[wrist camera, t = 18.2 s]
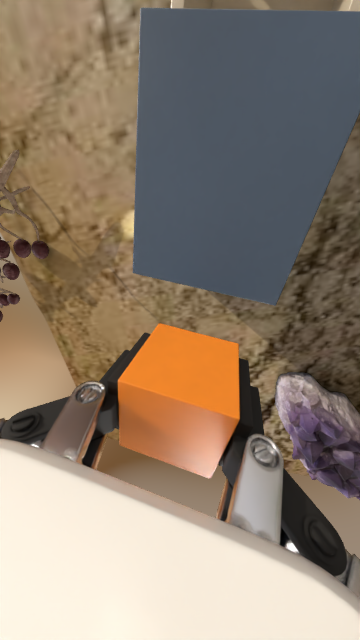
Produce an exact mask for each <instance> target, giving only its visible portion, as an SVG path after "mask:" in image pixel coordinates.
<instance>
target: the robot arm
mask: <svg viewBox="0 0 360 640" xmlns="http://www.w3.org/2000/svg"><path fill="white" fill-rule="evenodd" d="M150 335H151V334H148V333H144V334H143V335H142V336H141V338H140V339H139V340H138V342H137V343H136V344H135V345H134V347H133V348H132V349H131V350H130V351H129V350H125V351H124V352H123V353H122V354H121V356H120V357H119V358H118V359H117V360H116V362H115V363H114V364H113V365H112V367H111V368H110V369H109V370H108V371H107V373H106V374H105V375H104V376H103V377H102V379H101V380H100V381H99V382H98V381H88V382H84V383H82V384H80V385H79V386H78V387H76V388H75V390H74V391H73V393H72V394H71V396H69V397H66V398H63V399H60V400H56V401H53V402H50V403H46V404H43V405H40V406H37V407H33V408H30V409H27V410H24V411H22V412H19V413H17V414H16V415H14V416H12V417H11V418H10V419H9V420H5V419H4V418H2V419H0V640H360V559H359V558H358V557H357V556H356V555H355V554H353V555H351V554H350V553H349V552H348V551H347V550H346V549H345V547H344V544H343V542H342V540H341V538H340V536H339V535H338V533H337V531H336V530H335V528H334V527H333V526H332V524H331V523H330V522H329V521H328V520H327V519H326V517H325V516H324V515H323V514H322V513H321V511H320V510H319V509H318V508H317V507H316V506H315V504H314V503H313V502H312V501H311V500H310V498H309V497H308V496H307V495H306V494H305V493H304V491H303V490H302V489H301V488H300V487H299V485H298V484H297V483H296V482H295V481H294V480H293V478H292V477H291V476H290V475H289V474H288V472H287V471H286V470H285V469H284V468H283V456H282V453H281V451H280V449H279V448H278V446H277V445H276V444H275V443H274V442H273V441H272V440H271V439H270V438H268V437H267V436H264V429H263V421H262V413H261V405H260V397H259V390H258V388H256V387H253V386H250V376H249V363H248V360H244V359H240V358H239V397H240V420H239V422H238V424H237V426H236V428H235V430H234V432H233V434H232V436H231V438H230V440H229V442H228V444H227V446H226V448H225V451H224V453H223V455H222V457H221V459H220V461H219V465H220V466H222V471H223V473H224V474H225V476H226V481H225V485H224V488H223V492H222V496H221V500H220V503H219V507H218V510H217V515H216V518H214V517H211V516H209V515H206V514H204V513H202V512H199V511H197V510H194V509H192V508H189V507H187V506H184V505H182V504H179V503H177V502H174V501H172V500H170V499H167V498H164V497H162V496H160V495H157V494H155V493H152V492H150V491H147V490H144V489H142V488H139V487H137V486H135V485H132V484H130V483H127V482H124V481H122V480H120V479H117V478H114V477H112V476H110V475H107V474H104V473H102V472H99V471H97V470H96V469H97V466H98V463H99V460H100V456H101V454H102V451H103V448H104V445H105V441H106V439H107V436H108V433H109V432H112V431H113V430H114V428H117V429H119V404H118V379H119V378H120V377H121V375H122V374H123V373H124V371H125V370H126V368H127V367H128V366H129V364H130V363H131V361H132V360H133V359H134V357H135V356H136V355H137V353H138V352H139V350H140V349H141V348H142V346H143V345H144V343H145V342H146V341H147V339H148V338H149V337H150Z"/></svg>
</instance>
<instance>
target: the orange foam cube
mask: <svg viewBox="0 0 360 640" xmlns="http://www.w3.org/2000/svg"><path fill="white" fill-rule="evenodd" d="M118 404H119V437H120V445H121V446H124V447H126V448H129V449H131V450H134V451H137V452H139V453H142V454H145V455H147V456H150V457H153V458H156V459H158V460H161V461H164V462H166V463H169V464H172V465H174V466H177V467H180V468H183V469H185V470H188V471H191V472H193V473H196V474H199V475H202V476H204V477H207V478H209V479H211V477H212V475H213V473H214V470H215V469H216V467H217V465H218V463H219V461H220V459H221V457H222V455H223V453H224V451H225V448H226V446H227V444H228V442H229V440H230V438H231V436H232V434H233V432H234V430H235V428H236V426H237V424H238V422H239V420H240V397H239V344H237V343H233V342H229V341H226V340H222V339H218V338H214V337H210V336H206V335H202V334H199V333H195V332H191V331H187V330H183V329H179V328H176V327H172V326H168V325H164V324H160V323H159V324H158V326H157V327H156V328H155V330H154V331H153V332H152V334H151V335H150V337H149V338H148V339H147V341H146V342H145V343H144V345H143V346H142V348H141V349H140V350H139V352H138V353H137V355H136V356H135V357H134V359H133V360H132V361H131V363H130V364H129V366H128V367H127V368H126V370H125V371H124V373H123V374H122V375H121V377H120V378H119V379H118Z"/></svg>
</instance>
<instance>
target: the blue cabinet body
mask: <svg viewBox="0 0 360 640" xmlns="http://www.w3.org/2000/svg"><path fill="white" fill-rule="evenodd" d="M359 113H360V11H312V10H251V9H190V8H141V9H140V41H139V76H138V111H137V146H136V182H135V217H134V252H133V273H135V274H139V275H144V276H148V277H152V278H157V279H161V280H166V281H170V282H174V283H179V284H183V285H187V286H192V287H196V288H201V289H205V290H209V291H214V292H218V293H222V294H227V295H231V296H236V297H240V298H244V299H249V300H253V301H257V302H262V303H266V304H270V305H276V304H277V301H278V299H279V297H280V294H281V292H282V290H283V288H284V285H285V283H286V281H287V278H288V276H289V274H290V272H291V269H292V267H293V265H294V262H295V260H296V258H297V255H298V253H299V251H300V249H301V246H302V244H303V242H304V239H305V237H306V235H307V232H308V230H309V228H310V226H311V223H312V221H313V219H314V216H315V214H316V212H317V210H318V207H319V205H320V203H321V200H322V198H323V196H324V193H325V191H326V189H327V187H328V184H329V182H330V180H331V177H332V175H333V173H334V170H335V168H336V166H337V164H338V161H339V159H340V157H341V154H342V152H343V150H344V148H345V145H346V143H347V141H348V138H349V136H350V134H351V131H352V129H353V127H354V125H355V122H356V120H357V118H358V115H359Z"/></svg>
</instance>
